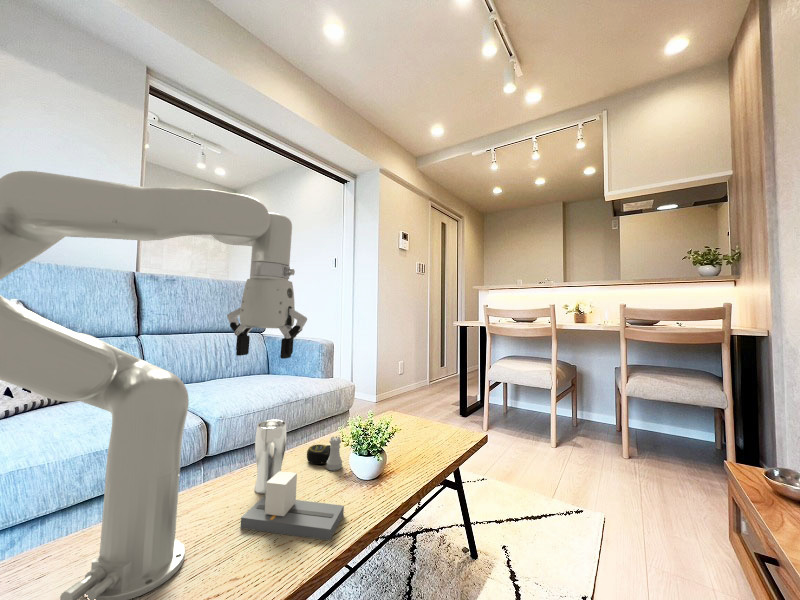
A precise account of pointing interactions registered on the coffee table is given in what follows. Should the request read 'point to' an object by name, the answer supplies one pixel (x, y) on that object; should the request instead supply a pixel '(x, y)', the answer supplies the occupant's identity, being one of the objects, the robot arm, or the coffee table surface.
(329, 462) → the rook chess piece
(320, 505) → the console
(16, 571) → the coffee table surface
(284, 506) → the fader knob
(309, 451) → the tape measure
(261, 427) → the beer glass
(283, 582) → the coffee table surface
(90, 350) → the robot arm
